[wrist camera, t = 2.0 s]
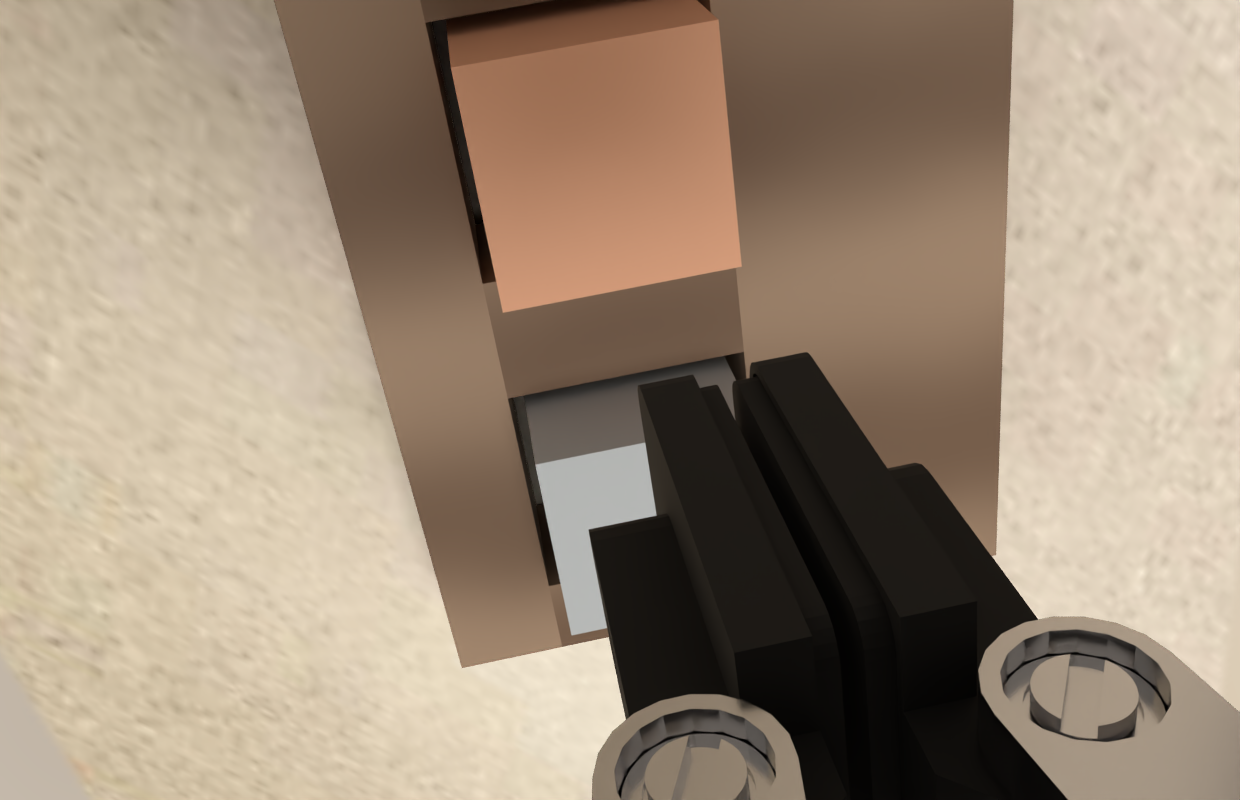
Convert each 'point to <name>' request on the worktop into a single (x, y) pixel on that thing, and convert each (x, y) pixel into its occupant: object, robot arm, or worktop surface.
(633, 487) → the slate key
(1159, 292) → the worktop surface
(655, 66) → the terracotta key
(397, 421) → the key panel
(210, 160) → the worktop surface
